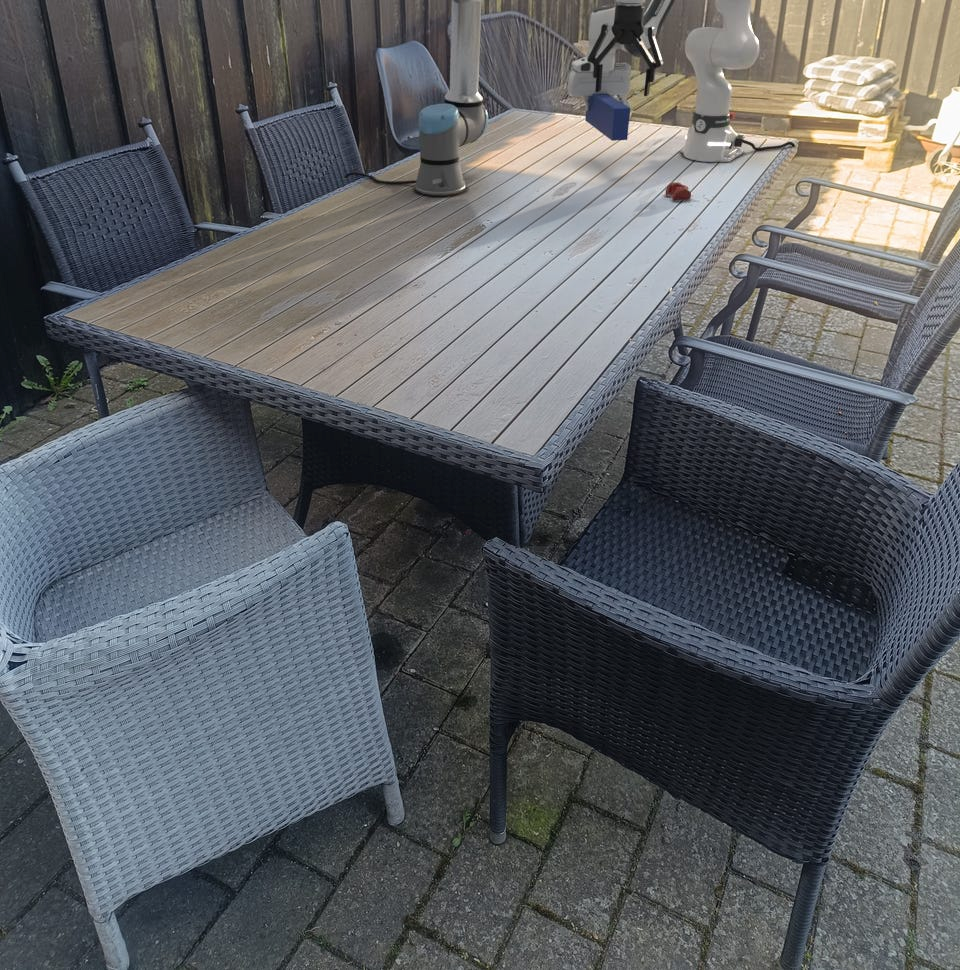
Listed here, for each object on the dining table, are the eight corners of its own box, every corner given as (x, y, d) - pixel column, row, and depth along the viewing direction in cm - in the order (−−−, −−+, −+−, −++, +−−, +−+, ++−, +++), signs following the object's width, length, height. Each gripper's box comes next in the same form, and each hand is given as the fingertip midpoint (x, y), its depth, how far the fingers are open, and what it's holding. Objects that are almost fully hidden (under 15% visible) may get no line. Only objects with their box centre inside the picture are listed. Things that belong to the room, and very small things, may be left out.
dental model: (681, 178, 253) (693, 186, 247) (680, 192, 255) (692, 200, 249) (664, 180, 252) (676, 188, 246) (663, 194, 254) (674, 202, 248)
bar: (627, 139, 259) (630, 107, 253) (611, 140, 258) (614, 108, 253) (599, 119, 281) (601, 89, 276) (585, 120, 280) (587, 90, 275)
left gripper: (681, 4, 216) (670, 94, 228) (588, 0, 224) (582, 87, 237) (674, 8, 210) (663, 99, 223) (579, 3, 219) (574, 91, 231)
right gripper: (628, 60, 271) (624, 106, 279) (567, 62, 268) (564, 109, 276) (635, 63, 266) (630, 110, 274) (572, 66, 263) (570, 113, 271)
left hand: (622, 93), depth 230 cm, fingers open, 13 cm apart
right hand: (596, 110), depth 275 cm, fingers closed on bar, 5 cm apart
